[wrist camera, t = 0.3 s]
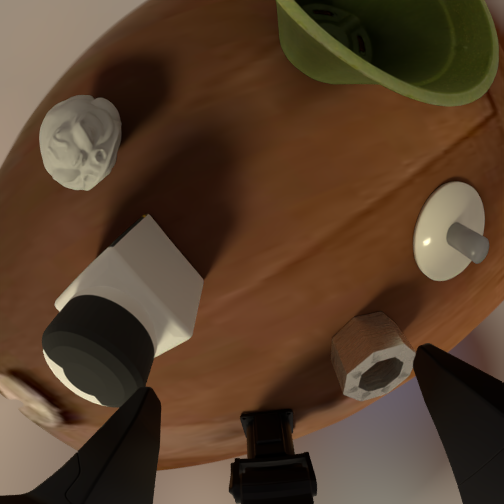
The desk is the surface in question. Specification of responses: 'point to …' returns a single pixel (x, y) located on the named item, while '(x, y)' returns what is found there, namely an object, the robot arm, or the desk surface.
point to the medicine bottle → (122, 315)
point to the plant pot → (395, 45)
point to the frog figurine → (80, 141)
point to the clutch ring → (371, 356)
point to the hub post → (450, 231)
